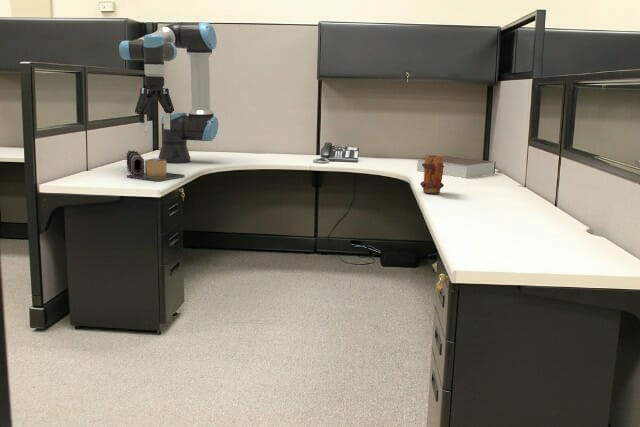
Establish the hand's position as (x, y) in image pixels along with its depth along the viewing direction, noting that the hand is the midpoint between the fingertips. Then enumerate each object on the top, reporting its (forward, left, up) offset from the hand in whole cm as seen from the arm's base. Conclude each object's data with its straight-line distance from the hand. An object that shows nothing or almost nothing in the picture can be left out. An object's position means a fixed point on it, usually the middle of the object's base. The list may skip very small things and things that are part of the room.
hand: (155, 130), depth 259 cm
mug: (-34, +105, -19) cm, 112 cm away
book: (-101, +94, -20) cm, 139 cm away
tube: (-9, -20, -19) cm, 29 cm away
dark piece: (0, 0, -19) cm, 19 cm away
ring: (0, 0, -18) cm, 18 cm away
